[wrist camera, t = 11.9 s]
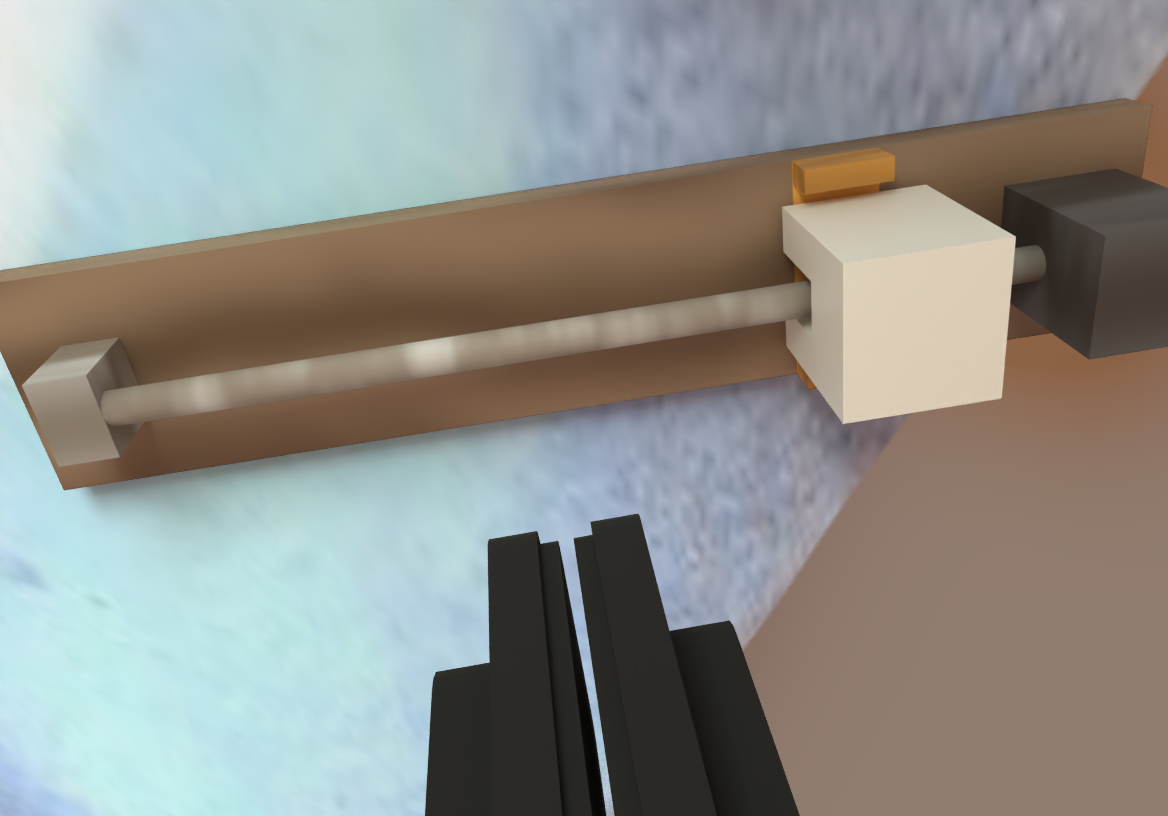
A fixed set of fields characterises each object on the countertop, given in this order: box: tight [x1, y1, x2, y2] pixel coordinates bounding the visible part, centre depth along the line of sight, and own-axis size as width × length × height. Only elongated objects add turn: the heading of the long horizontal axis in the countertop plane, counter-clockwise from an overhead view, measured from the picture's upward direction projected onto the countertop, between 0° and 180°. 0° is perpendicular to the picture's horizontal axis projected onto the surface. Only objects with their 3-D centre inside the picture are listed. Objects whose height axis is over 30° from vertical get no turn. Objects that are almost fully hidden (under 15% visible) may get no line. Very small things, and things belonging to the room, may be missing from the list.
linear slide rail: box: [0, 98, 1168, 490], centre depth 31 cm, size 8×40×8 cm, turn 97°
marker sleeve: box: [782, 185, 1016, 424], centre depth 31 cm, size 5×5×6 cm
